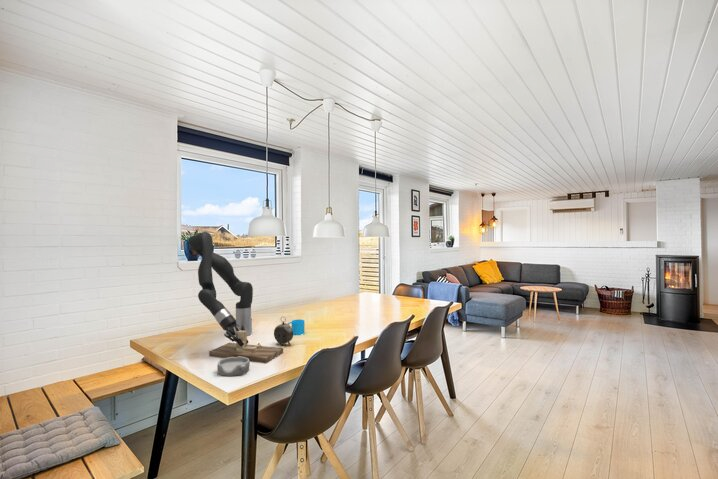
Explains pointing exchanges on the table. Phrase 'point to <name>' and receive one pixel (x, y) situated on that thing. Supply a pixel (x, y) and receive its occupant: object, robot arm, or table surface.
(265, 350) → the walnut board
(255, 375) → the table surface
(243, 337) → the marking gauge
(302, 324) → the mug
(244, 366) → the dish
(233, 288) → the robot arm
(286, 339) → the alarm clock
